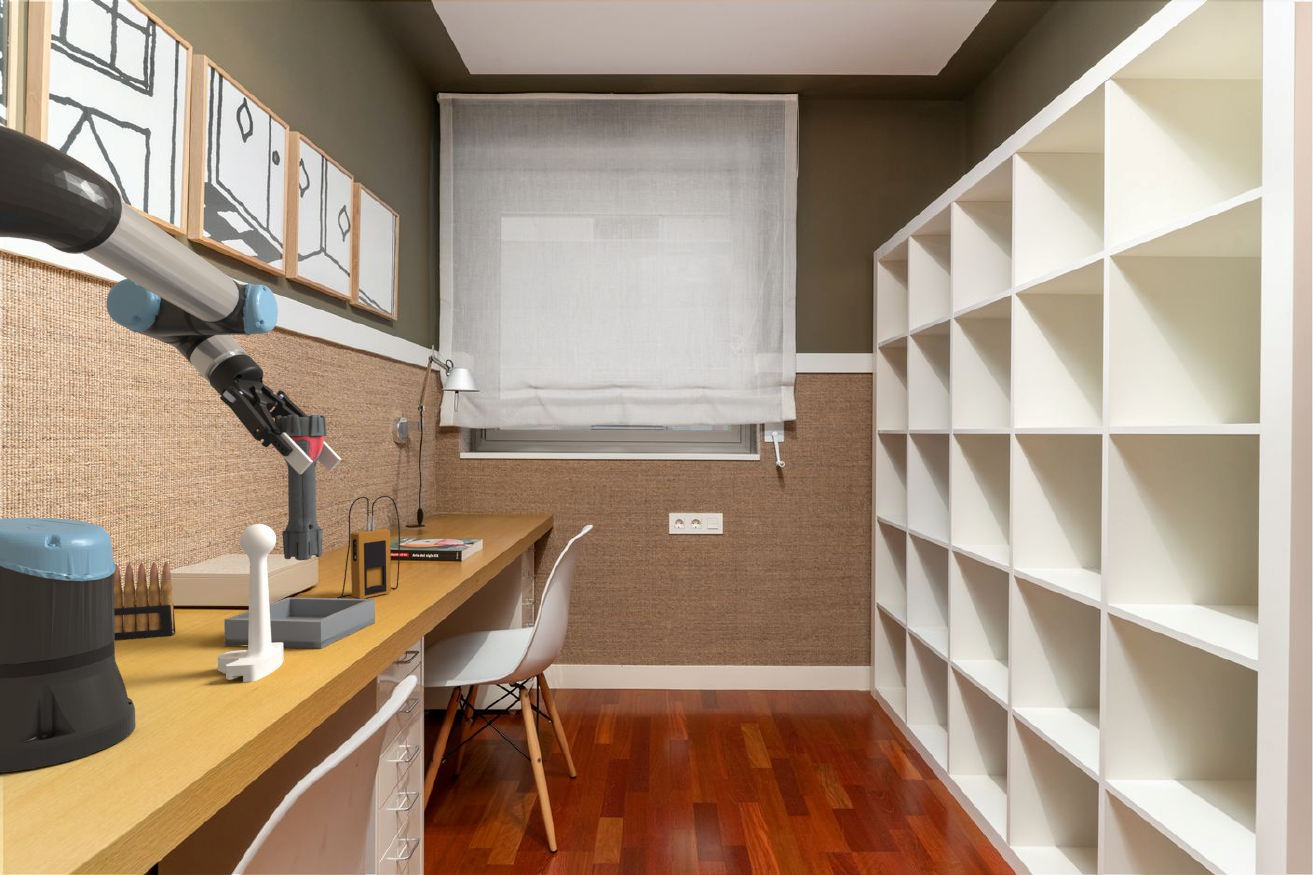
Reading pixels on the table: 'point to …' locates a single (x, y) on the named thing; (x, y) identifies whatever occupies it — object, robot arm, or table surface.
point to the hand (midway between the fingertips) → (321, 466)
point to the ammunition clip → (143, 604)
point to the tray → (307, 621)
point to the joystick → (255, 614)
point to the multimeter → (370, 559)
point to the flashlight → (303, 487)
